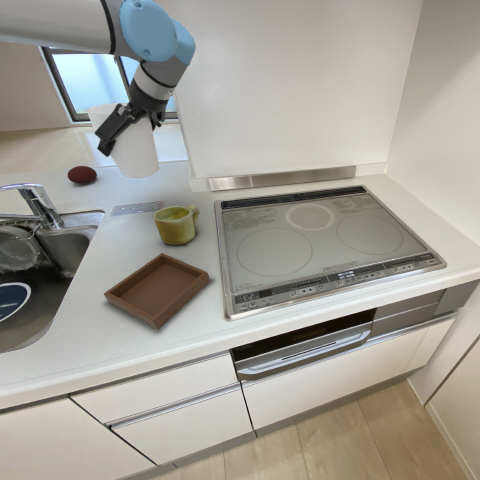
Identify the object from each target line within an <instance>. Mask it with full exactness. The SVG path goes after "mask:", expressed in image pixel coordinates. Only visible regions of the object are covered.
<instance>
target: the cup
mask: <svg viewBox="0 0 480 480" xmlns="http://www.w3.org/2000/svg"><path fill="white" fill-rule="evenodd" d="M119 103H120V104H122V105H123V106H127V104H128V102H113V103H104V104H102V103H101V104H98V105H93V106H90V107H88V108H86V109H85V111H86V114H87V116H88V118H89V121H90V123H91V127H92V129H93V131H94V132H95V131H96V130H97V129H98V128H99V127H100V126H101V125H102V123H103V122H104V121H105V120H106V119H107V118H108V117H109V115H110V114H111V113H112V112H113V111H114V109H115V107H116V105H117V104H119ZM129 116H130V117H131V118H132V119H135V118H134V117H133V116H132V115H131V114H130V115H129ZM98 139H99V140H100V138H99V137H98ZM115 140H116V142H115V145H114V147H113V149H112V151H111V153H110V156H109V157H111V159H112V160H113V162H114V164H115V165H116V166H117V168H118V169H119V171H120V173H121V174H122V176H124V177H126V178H129V179H143V178H147V177H151V176H153V175H155V174H157V173H158V172H159V171H160V164H159V158H158V153H157V148H156V142H155V137H154V131H152V125H151V122H150V119H149V117H148V116H147V117H145V118H142V119H141V120H139V121H138V122H137V123H136V124H131V125H130V126H129V127H128V128H127V129H126V130H124V131H123V132H122V133H121V134H120V135H119V136H118V137H116V138H115Z"/></svg>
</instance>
